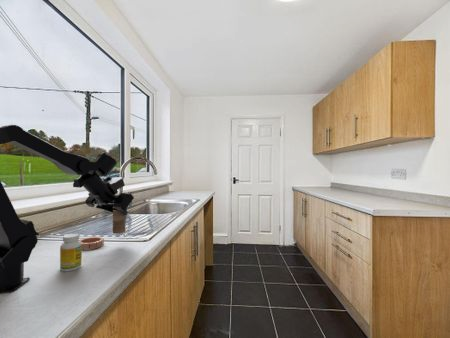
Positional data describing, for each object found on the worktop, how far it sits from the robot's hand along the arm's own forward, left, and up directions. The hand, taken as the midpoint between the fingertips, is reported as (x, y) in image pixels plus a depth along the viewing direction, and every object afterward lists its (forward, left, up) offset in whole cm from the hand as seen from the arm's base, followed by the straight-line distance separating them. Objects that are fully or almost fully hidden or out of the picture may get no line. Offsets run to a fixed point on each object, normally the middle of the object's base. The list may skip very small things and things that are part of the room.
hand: (122, 213), depth 91 cm
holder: (+1, +11, -12) cm, 17 cm away
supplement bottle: (-19, +9, -12) cm, 25 cm away
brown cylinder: (-1, +1, -7) cm, 7 cm away
